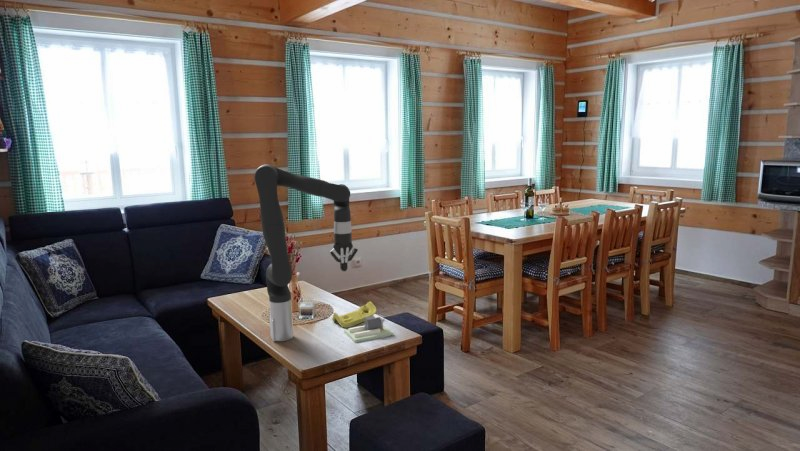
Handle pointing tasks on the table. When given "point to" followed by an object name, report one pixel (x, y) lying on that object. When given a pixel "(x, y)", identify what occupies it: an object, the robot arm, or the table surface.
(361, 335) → the board
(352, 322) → the plastic component
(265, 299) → the table surface
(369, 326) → the plug
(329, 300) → the table surface
